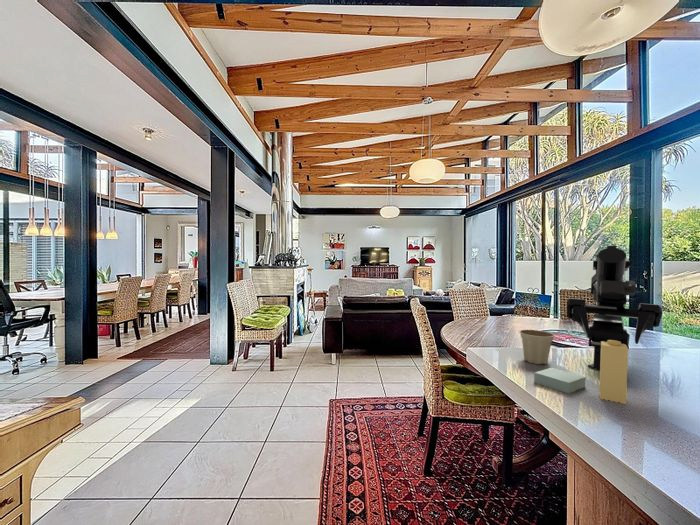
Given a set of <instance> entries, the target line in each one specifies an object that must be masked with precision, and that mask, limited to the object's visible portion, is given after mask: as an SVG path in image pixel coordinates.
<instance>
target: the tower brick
mask: <svg viewBox="0 0 700 525" xmlns="http://www.w3.org/2000/svg"><path fill="white" fill-rule="evenodd" d="M628 358H629V349H628V347H627V346H626V344H621V342H620V341H616V340H608V341H607V342H603V341H601V357H600V370H599V386H598V387H599V388H598V389H599V390H598V391H599V392H598V393H599V399H600V400H603V399H605V400H604V401H608V400H610V401H609V402H613V401H615V402H614V403H618V402H620V403H619V404H624V405H627V392H628V391H627V388H628V367H629V366H628V362H629V360H628Z"/></svg>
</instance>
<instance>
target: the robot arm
mask: <svg viewBox="0 0 700 525" xmlns="http://www.w3.org/2000/svg"><path fill="white" fill-rule="evenodd" d="M606 247H607V248H603V249H601V250H600V251H599V252H598V253H597V254H596V257H593V261H592V263H593V264H592V270H593V271H595V273H594V274H593V275H592V277H591V279H590V280H591V281H590V295H591V296H593V298H592V300H593V301H594V302H596V304H587V303H586V299H585V298H573V297H570V298H568V299H567V300H566V318H568V319H569V320H572V321H573V322H575V323H576V322H577V324H578V325H579V326H580V327H581V328H582V331H583V333H584V334H585V336H586V338H587V339H588V347H590V348H591V347H593V363H591V364H587V368H591V369H595V370H599V371H600V357H601V341H603V342H607V341H608V340H616V341H620V342H621V344H626V346H627V347H628V350H629V349H630V347H629V346H630V334H629V333H628V330H627V328H624V322H623V318H630V319H631V318H632V319H636V326H635V335H634V336H635V337H634V341H635V342H634V343H635V344H636V345H639V342H640V341H641V338H642V336H643V334H644V333H645V332H646V330H651V329H653V328H658V327H659V326H660V323H661V319H662V316H663V307H662V306H661V305H659V304H658V303H657V304H654V303H642V302H641V303H639V304H638V308H637V309H636V308H626V305H627V302H628V300H627V296H635V294H636V292H637V291H636V289H637V288H636V281H635V280H625V281H624V275H625V272H628V270H629V268H631V267H632V262H631V261H630V260H629V259H628V257H627V253H626V252H625V251H624V250H622V249H620V248H617V245H607V246H606ZM588 314H594V315H593V319H592V324H589V318H588Z"/></svg>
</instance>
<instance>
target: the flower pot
mask: <svg viewBox="0 0 700 525" xmlns="http://www.w3.org/2000/svg"><path fill="white" fill-rule="evenodd" d="M518 332H519V334H520V338H521V340H522V341H521V342H522V351H523V359H524V361H527V363H530V364H534V365H535V364H536V365H542V364H543V365H546V364H548V362H549V361H548V360H549V357H550V352H551V348H552V347H551V346H552V342H553V341H554V338H555V336H556V335H555V333H553V332H550V331H549V332H548V331H543V330H537V329H520V330H519V331H518Z"/></svg>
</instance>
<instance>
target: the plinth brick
mask: <svg viewBox="0 0 700 525" xmlns="http://www.w3.org/2000/svg"><path fill="white" fill-rule="evenodd" d="M533 376H534V377H533V378H534V381H533V382H534V383H535V384H537V385H540V384H541V385H540V386H543V385H544V387H546V388H550V389H552V390H556V391H560V392H563V393H566V394H568V395H569V394H571V393H574V392H576V390H577V391H579V390H581V389H580V388H582V389H584V388H583V387H585V388H586V376H584V375H580V374H576V373H573V372H569V371H565V370H561V369H558V368H555V367H549V368H545V369H542V370H539V371H535V372H534V374H533ZM578 389H579V390H578Z"/></svg>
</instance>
